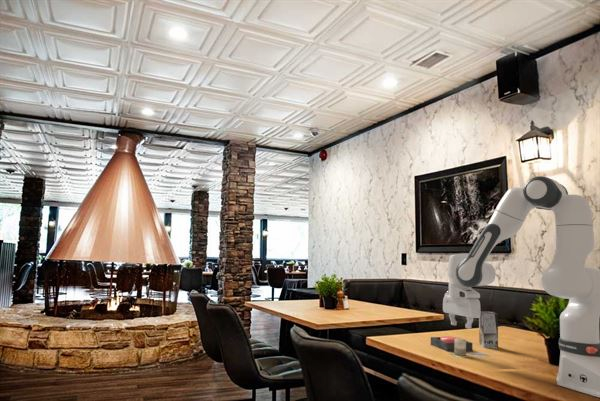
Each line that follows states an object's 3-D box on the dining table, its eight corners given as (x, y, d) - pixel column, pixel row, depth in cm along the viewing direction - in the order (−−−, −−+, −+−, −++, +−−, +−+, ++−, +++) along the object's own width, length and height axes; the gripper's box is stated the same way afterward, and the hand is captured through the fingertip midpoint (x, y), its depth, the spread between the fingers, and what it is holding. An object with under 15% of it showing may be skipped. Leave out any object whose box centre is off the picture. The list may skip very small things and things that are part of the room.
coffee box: (498, 351, 184) (498, 313, 186) (483, 349, 186) (482, 312, 188) (493, 346, 193) (493, 311, 195) (479, 345, 195) (478, 310, 197)
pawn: (468, 356, 167) (468, 341, 168) (457, 356, 167) (457, 340, 168) (462, 353, 172) (462, 338, 172) (452, 353, 171) (452, 338, 172)
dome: (466, 349, 179) (466, 340, 180) (448, 350, 177) (448, 340, 178) (453, 345, 188) (453, 336, 188) (436, 345, 186) (436, 336, 186)
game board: (495, 360, 167) (495, 349, 167) (461, 361, 163) (461, 349, 163) (458, 346, 190) (458, 336, 191) (427, 347, 186) (427, 337, 187)
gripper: (438, 290, 181) (439, 323, 179) (469, 294, 162) (470, 330, 160) (451, 290, 183) (452, 323, 181) (482, 294, 164) (484, 330, 161)
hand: (460, 326), depth 170 cm, fingers open, 8 cm apart
